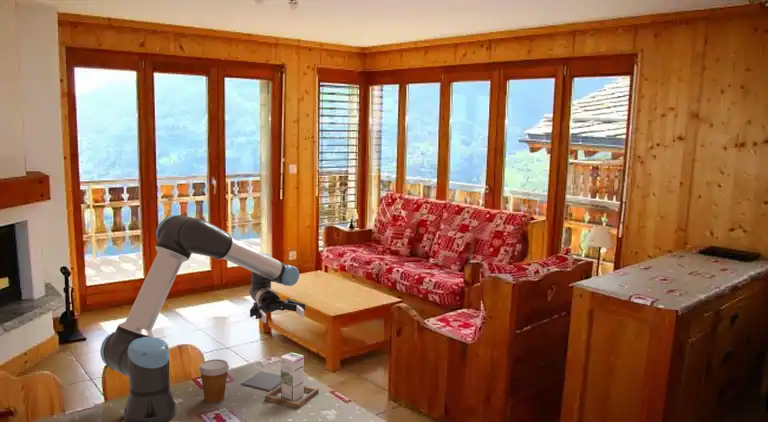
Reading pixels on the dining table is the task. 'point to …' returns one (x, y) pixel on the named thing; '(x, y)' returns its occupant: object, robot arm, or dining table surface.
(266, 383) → the rubber mat
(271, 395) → the walnut holder frame
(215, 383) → the disposable coffee cup
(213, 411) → the dining table surface
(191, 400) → the dining table surface
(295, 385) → the syrup box
